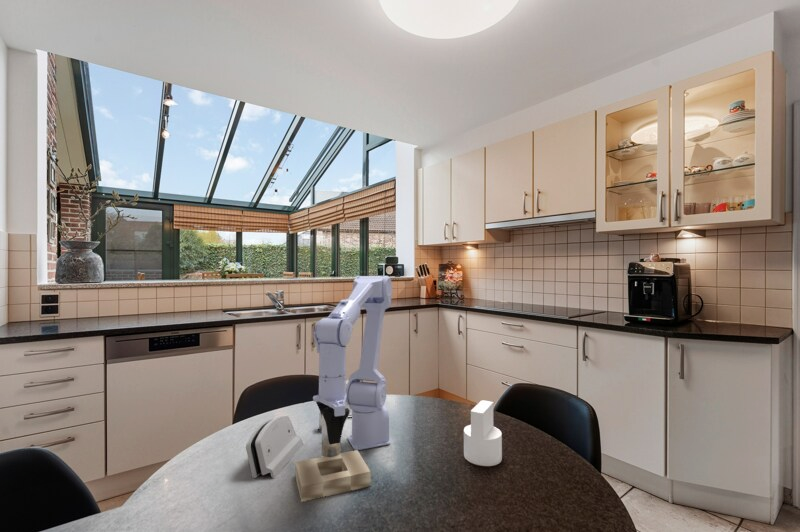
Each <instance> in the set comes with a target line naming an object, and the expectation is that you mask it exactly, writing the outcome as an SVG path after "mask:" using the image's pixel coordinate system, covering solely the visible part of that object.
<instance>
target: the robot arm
mask: <svg viewBox="0 0 800 532" xmlns="http://www.w3.org/2000/svg"><path fill="white" fill-rule="evenodd" d="M392 296H393V283H392V279H391V278H390V277H389V275H383V276H381V275H380V276H378V275H377V276H376V275H374V276H373V275H371V276H370V275H368V276H367V275H366V276H365V275H356V277H354V279H353V283H352V291H351V293H350V294H349V296H348V297H347V298H346V299H341V300H340V301H339V302H338V303H337V305H336V306H335V307H334V309H333V310H332V311H331V312H330V313H329V315H328V316H327V317H323V318H321V319H320V320H318V321H317V322H316V325H315V326H314V332H313V340H314V342H315V344H316V353H317V354H318V394H317V395H313V396H312V400H313V402H314V403H316V405H317V407H318V410H319V413H321V417H322V415H323V417H324V419H325V423H326V427H327V435H328V440H329V443H330V444H336V443H340V439H342V435H343V430H344V426H345V423H346V421H347V418H348V415H349V412H350V410H349V409H348V408H345V402H347V404H348V405H350V409H352V418H351V435H348V436H347V438H346V439H347V440H348V441H349V444H350V445H351V447H352V448H353V449H354V450H353V451H355V450H358V451H361V450H368V449H371V448H378V447H382V446H388V445H391V441H390V414H389V410H388V408H387V406H386V405H385V403H386V399H387V379H386V378H385V376H384V375H383V374H382V373H381V372H380V371H379V370H378V366H379V358H380V350H381V349H380V348H381V341H382V335H383V334H382V332H383V327H384V325H383V324H384V317H385V312H386V310H387V309H390V308H391V303H392ZM361 308H363V309H365V311H366V317H365V323H364V330H363V337H362V338H363V339H362V344H361V353H360V359H359V366H358V369H356V370H355V371H354V372H353V373H351V374H350V375H349V378H348V380H349V381H348V385H347V387H346V381H347V345H348V344H349V343H350V340H351V336H352V333H353V329H354V328H353V326H354V325H355V323H356V322H357V320H358V319H359V318H360V316H361ZM359 381H360V382H359ZM327 407H331V409H326V410H322V409H324V408H327Z"/></svg>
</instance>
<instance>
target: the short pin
mask: <svg viewBox="0 0 800 532" xmlns="http://www.w3.org/2000/svg"><path fill="white" fill-rule="evenodd" d="M318 417H319V418H318V431H319V430H320V431H321V432H320V431H319V432H320V433H322V417H321V413H320V412H319V413H318Z"/></svg>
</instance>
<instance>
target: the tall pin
mask: <svg viewBox="0 0 800 532" xmlns="http://www.w3.org/2000/svg"><path fill="white" fill-rule="evenodd" d="M326 409H331V407H327V408H324V409H322V410H326ZM341 439H342V438H341ZM341 439H340V443H336V444H330V443H329V440H328V435H327V427H326V423H325V419H324V417H323V415H322V432H321V456H322V457H335V456H338V455H339V454H340V453H342V452H341V449H342V447H341V445H342V444H341V443H342V442H341Z"/></svg>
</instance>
